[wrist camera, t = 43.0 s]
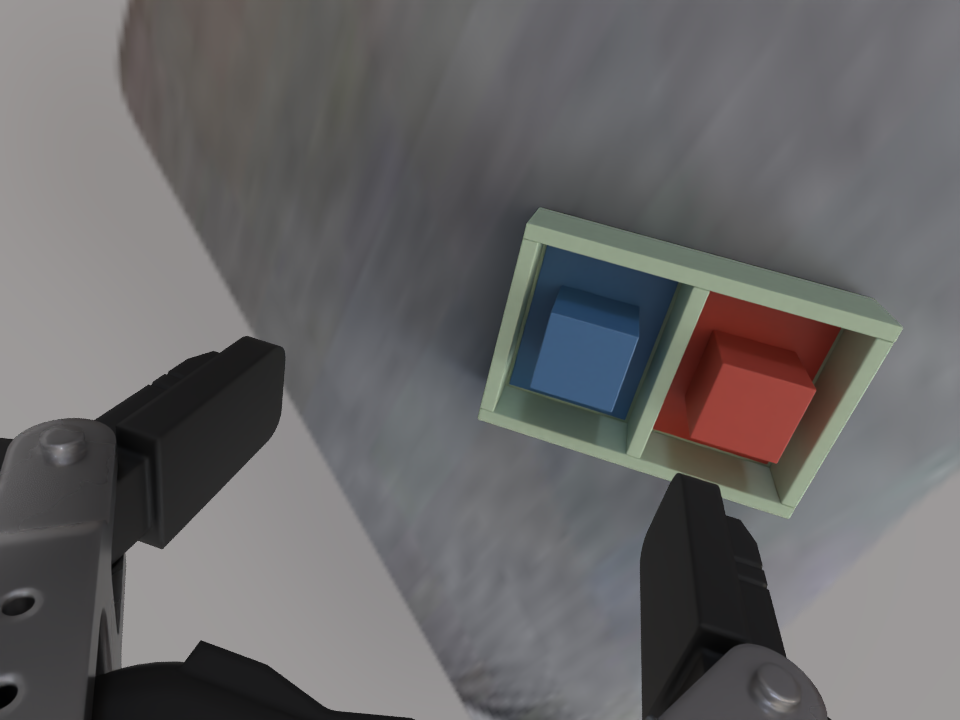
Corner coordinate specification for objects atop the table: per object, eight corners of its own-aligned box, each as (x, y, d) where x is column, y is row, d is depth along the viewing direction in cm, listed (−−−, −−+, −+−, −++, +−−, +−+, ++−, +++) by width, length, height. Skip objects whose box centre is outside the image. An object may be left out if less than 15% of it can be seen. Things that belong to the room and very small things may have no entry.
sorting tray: (492, 387, 38) (476, 419, 35) (539, 206, 33) (526, 222, 29) (774, 476, 36) (789, 520, 32) (874, 298, 31) (904, 327, 27)
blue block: (541, 353, 36) (529, 388, 32) (561, 284, 34) (550, 311, 30) (615, 375, 35) (611, 413, 31) (639, 306, 33) (639, 337, 29)
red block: (684, 397, 35) (689, 438, 31) (713, 328, 33) (722, 362, 29) (762, 420, 34) (777, 464, 30) (796, 352, 32) (817, 389, 28)
